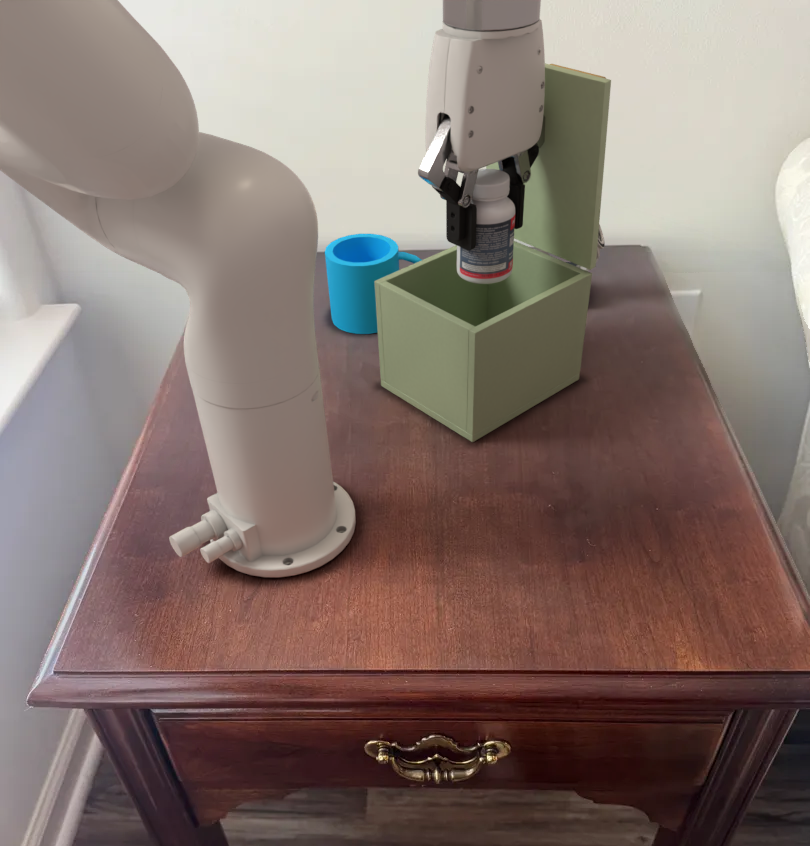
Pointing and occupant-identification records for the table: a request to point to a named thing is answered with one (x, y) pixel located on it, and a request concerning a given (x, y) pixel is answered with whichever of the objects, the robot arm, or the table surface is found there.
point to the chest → (481, 337)
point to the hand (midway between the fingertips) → (484, 232)
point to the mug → (359, 278)
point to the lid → (568, 167)
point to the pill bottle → (490, 231)
